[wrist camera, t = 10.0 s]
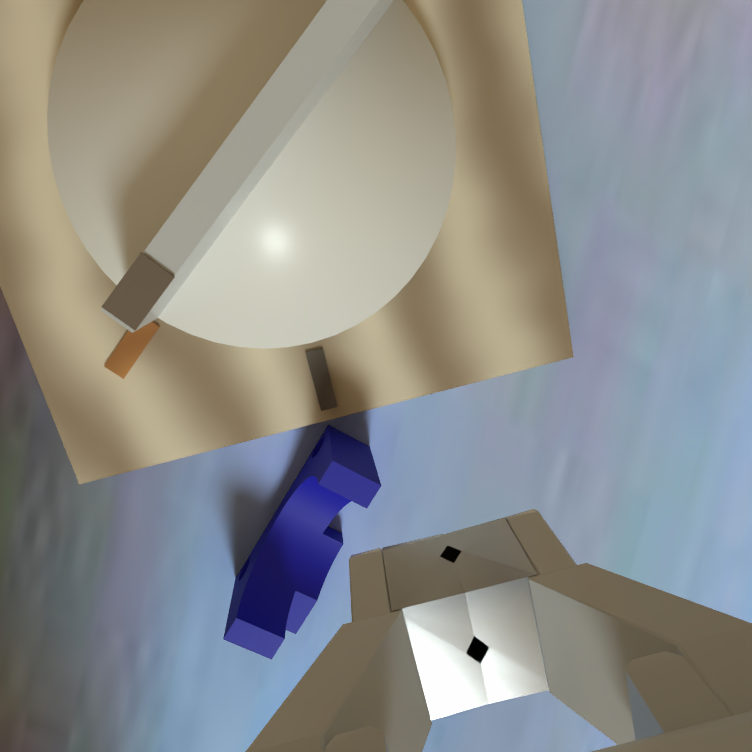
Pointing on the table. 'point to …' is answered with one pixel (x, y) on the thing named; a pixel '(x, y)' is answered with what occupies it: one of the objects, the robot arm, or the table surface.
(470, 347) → the dial board
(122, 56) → the dial
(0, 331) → the table surface
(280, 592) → the blue notched block
